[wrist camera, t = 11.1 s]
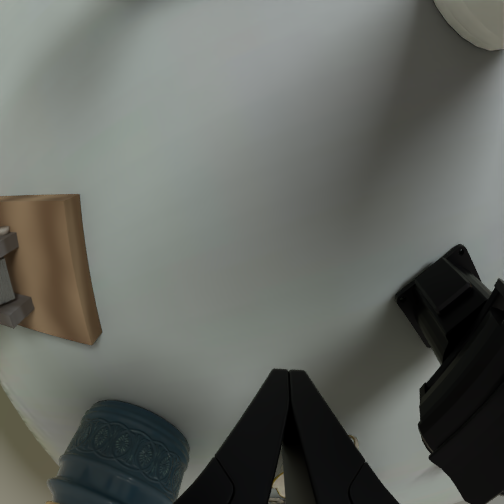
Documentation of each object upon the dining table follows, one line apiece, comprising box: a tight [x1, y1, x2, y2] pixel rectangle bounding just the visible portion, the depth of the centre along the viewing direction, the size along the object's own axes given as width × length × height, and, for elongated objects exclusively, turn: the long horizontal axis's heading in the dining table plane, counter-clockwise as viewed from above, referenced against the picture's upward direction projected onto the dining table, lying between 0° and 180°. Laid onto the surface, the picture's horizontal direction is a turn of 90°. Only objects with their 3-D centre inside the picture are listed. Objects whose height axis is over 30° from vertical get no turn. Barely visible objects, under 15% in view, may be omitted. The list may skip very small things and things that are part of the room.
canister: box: [46, 400, 189, 504], centre depth 22 cm, size 13×13×18 cm
